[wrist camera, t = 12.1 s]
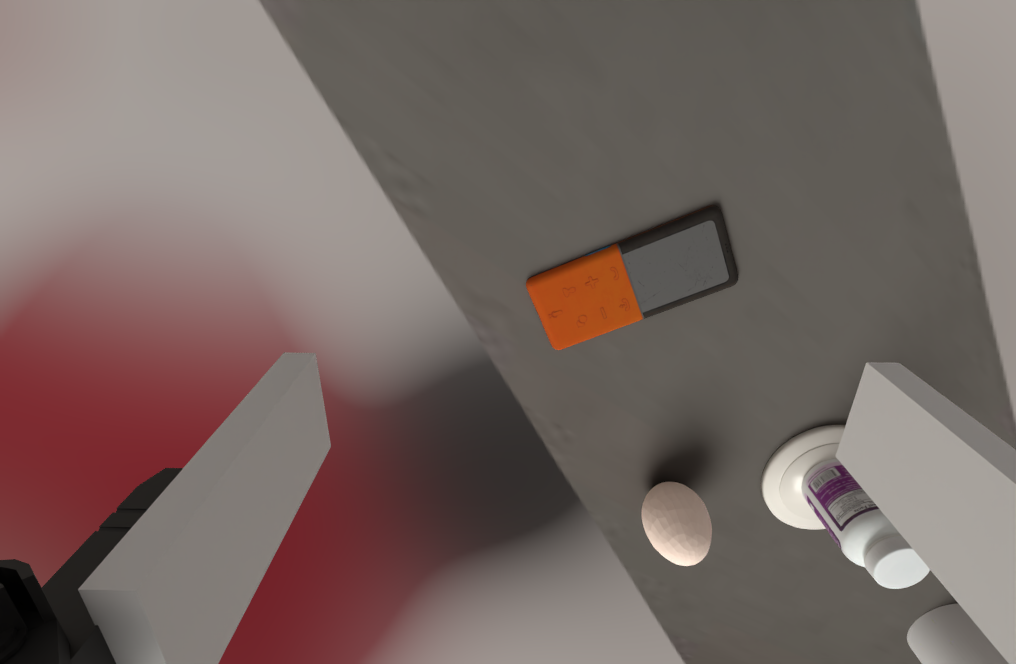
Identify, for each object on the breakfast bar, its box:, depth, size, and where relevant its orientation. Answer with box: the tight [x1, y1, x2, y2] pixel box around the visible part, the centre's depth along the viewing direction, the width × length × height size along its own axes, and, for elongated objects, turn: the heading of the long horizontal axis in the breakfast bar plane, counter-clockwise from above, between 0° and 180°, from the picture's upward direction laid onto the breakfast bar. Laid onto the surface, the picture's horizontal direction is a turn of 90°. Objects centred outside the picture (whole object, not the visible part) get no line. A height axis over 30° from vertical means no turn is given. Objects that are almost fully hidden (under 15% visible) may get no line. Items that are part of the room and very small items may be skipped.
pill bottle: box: [801, 459, 930, 589], centre depth 43 cm, size 5×5×10 cm
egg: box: [642, 482, 712, 566], centre depth 45 cm, size 6×6×8 cm
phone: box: [526, 206, 738, 350], centre depth 41 cm, size 6×1×15 cm
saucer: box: [761, 425, 846, 529], centre depth 48 cm, size 11×11×1 cm
